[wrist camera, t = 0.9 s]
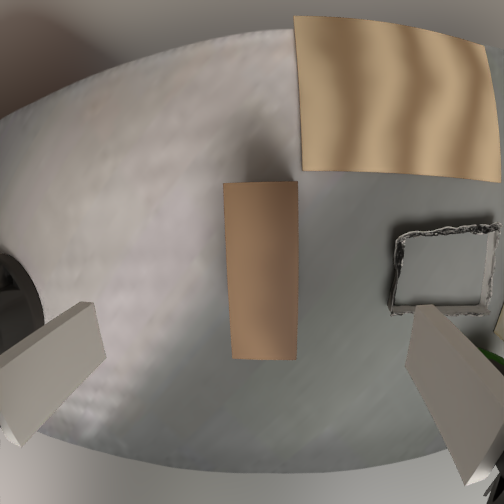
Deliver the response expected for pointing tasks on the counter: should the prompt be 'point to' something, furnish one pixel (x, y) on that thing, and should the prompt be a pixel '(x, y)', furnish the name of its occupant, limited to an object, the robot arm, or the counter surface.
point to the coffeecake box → (500, 326)
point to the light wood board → (394, 100)
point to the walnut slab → (262, 268)
